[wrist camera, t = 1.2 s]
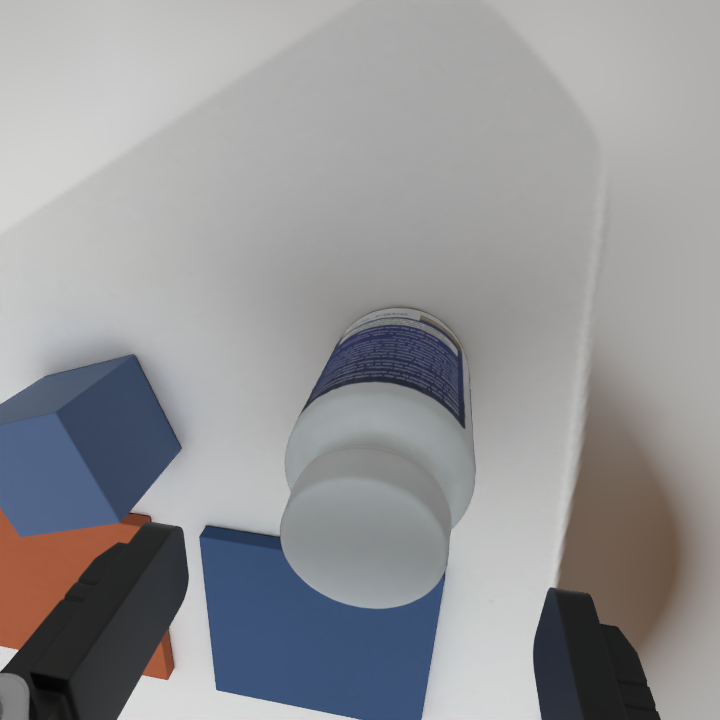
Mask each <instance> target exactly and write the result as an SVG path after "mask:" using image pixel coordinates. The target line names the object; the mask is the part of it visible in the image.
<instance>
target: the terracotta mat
mask: <svg viewBox="0 0 720 720" xmlns="http://www.w3.org/2000/svg"><path fill="white" fill-rule="evenodd" d="M146 522H150V517H148V516H142V515H136V514H129V513H128V514H127V516H126V517H125V518H124V519H123V520H122V522H121V523H117V524H110V525H103V526H96V527H90V528H83V529H76V530H69V531H62V532H55V533H48V534H41V535H34V536H27V537H20V536H19V535H18V533H17V532H16V530H15V529H14V527H13V526H12V524H11V523H10V522H9V520H8V519H7V517H6V516H5V514H4V513H3V511H2V510H1V508H0V646H3V647H8V648H13V649H18V650H20V649H21V647H22V646H23V645H24V644H25V642H26V641H27V640H28V639H29V638H30V636H31V635H32V634H33V633H34V632H35V630H36V629H37V628H38V627H39V625H40V624H41V623H42V622H43V621H44V619H45V618H46V617H47V616H48V615H49V613H50V612H51V611H52V610H53V609H54V607H55V606H56V605H57V604H58V602H59V601H60V600H63V599H64V597H65V594H66V593H67V592H68V590H69V589H70V588H71V587H72V586H73V584H74V583H75V582H76V583H77V582H78V578H79V577H80V576H81V575H82V573H83V572H84V571H85V570H86V569H87V567H88V566H89V565H90V564H91V562H92V561H93V560H94V559H95V558H96V557H97V556H99V555H100V554H102V553H103V552H105V551H106V550H107V549H109V548H110V547H112V546H113V545H115V544H116V543H117V542H121V543H127V544H128V543H129V542H130V540H131V539H132V538H133V536H134V535H135V534H136V533H137V531H138V530H139V529H140V527H141V526H142V525H143V524H144V523H146ZM173 669H174V664H173V658H172V652H171V646H170V640H169V633H168V630H167V631H166V633H165V635H164V637H163V638H162V640H161V642H160V644H159V646H158V647H157V649H156V651H155V653H154V654H153V656H152V658H151V660H150V662H149V663H148V665H147V667H146V669H145V670H144V672H143V674H142V675H145V676H150V677H155V678H160V679H165V680H168V679H169V677H170V675H171V673H172V671H173Z"/></svg>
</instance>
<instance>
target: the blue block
mask: <svg viewBox="0 0 720 720" xmlns="http://www.w3.org/2000/svg"><path fill="white" fill-rule="evenodd" d="M180 450H181V447H180V445H179V443H178V441H177V439H176V437H175V435H174V433H173V431H172V429H171V427H170V425H169V423H168V421H167V419H166V417H165V415H164V413H163V411H162V409H161V407H160V405H159V403H158V401H157V399H156V397H155V395H154V393H153V391H152V389H151V387H150V385H149V383H148V381H147V379H146V377H145V375H144V373H143V371H142V369H141V367H140V365H139V363H138V361H137V359H136V357H135V356H134V355H130V356H126V357H122V358H118V359H114V360H110V361H106V362H102V363H98V364H94V365H90V366H86V367H82V368H78V369H74V370H70V371H66V372H61V373H57V374H53V375H49V376H45V377H43V378H42V379H40V380H38V381H37V382H35V383H34V384H32V385H30V386H29V387H27V388H26V389H24V390H23V391H21V392H19V393H18V394H16V395H15V396H13V397H11V398H10V399H8V400H7V401H5V402H3V403H2V404H0V508H1V510H2V511H3V513H4V514H5V516H6V517H7V519H8V520H9V522H10V523H11V524H12V526H13V527H14V529H15V530H16V532H17V533H18V535H19V536H20V537H27V536H34V535H41V534H48V533H55V532H62V531H69V530H76V529H83V528H90V527H96V526H103V525H110V524H117V523H121V522H122V520H123V519H124V518H125V517H126V516H127V514H128V513H129V512H130V511H131V510H132V508H133V507H134V506H135V505H136V504H137V502H138V501H139V500H140V499H141V497H142V496H143V495H144V494H145V493H146V491H147V490H148V489H149V488H150V487H151V485H152V484H153V483H154V482H155V481H156V479H157V478H158V477H159V476H160V475H161V473H162V472H163V471H164V470H165V468H166V467H167V466H168V465H169V464H170V462H171V461H172V460H173V459H174V458H175V456H176V455H177V454H178V453H179V452H180Z"/></svg>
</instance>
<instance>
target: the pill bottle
mask: <svg viewBox="0 0 720 720" xmlns="http://www.w3.org/2000/svg"><path fill="white" fill-rule="evenodd" d="M470 392H471V391H470V373H469V369H468V364H467V360H466V356H465V353H464V350H463V348H462V346H461V344H460V342H459V341H458V339H457V338H456V336H455V335H454V333H453V332H452V331H451V330H450V329H449V328H448V327H447V326H446V325H445V324H443V323H442V322H441V321H439V320H438V319H437V318H435V317H433V316H431V315H429V314H427V313H424V312H421V311H417V310H414V309H408V308H390V309H383V310H379V311H375V312H372V313H370V314H367V315H365V316H364V317H362V318H360V319H359V320H357V321H356V322H355V323H353V324H352V325H351V326H350V327H349V328H348V329H347V330H346V331H345V332H344V334H343V335H342V336H341V338H340V340H339V342H338V343H337V345H336V346H335V348H334V350H333V352H332V354H331V356H330V358H329V360H328V362H327V364H326V366H325V368H324V370H323V371H322V374H321V376H320V377H319V379H318V381H317V383H316V385H315V387H314V388H313V390H312V393H311V395H310V397H309V399H308V401H307V403H306V404H305V406H304V408H303V410H302V412H301V414H300V415H299V417H298V419H297V421H296V423H295V425H294V428H293V430H292V432H291V435H290V437H289V440H288V443H287V447H286V453H285V472H286V478H287V482H288V486H289V488H290V491H291V494H290V497H289V500H288V503H287V505H286V508H285V511H284V514H283V516H282V519H281V525H280V540H281V545H282V549H283V552H284V555H285V557H286V559H287V561H288V563H289V564H290V566H291V567H292V569H293V570H294V571H295V572H296V574H297V575H298V576H299V577H300V578H301V579H302V580H303V581H304V582H306V583H307V584H308V585H309V586H310V587H312V588H313V589H315V590H316V591H318V592H320V593H321V594H323V595H325V596H327V597H329V598H331V599H333V600H335V601H338V602H341V603H344V604H347V605H352V606H356V607H361V608H372V609H385V608H393V607H398V606H402V605H406V604H409V603H411V602H413V601H415V600H418V599H420V598H421V597H423V596H425V595H426V594H427V593H429V592H430V591H431V590H432V589H433V588H434V587H435V586H436V585H437V584H438V582H439V581H440V579H441V578H442V576H443V574H444V572H445V569H446V566H447V562H448V556H449V541H450V534H451V529H452V528H454V527H455V525H456V524H457V523H458V522H459V521H460V519H461V518H462V517H463V515H464V513H465V512H466V510H467V508H468V506H469V504H470V501H471V498H472V495H473V491H474V484H475V474H476V465H475V456H474V441H473V424H472V411H471V394H470Z"/></svg>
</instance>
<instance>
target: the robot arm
mask: <svg viewBox="0 0 720 720" xmlns="http://www.w3.org/2000/svg"><path fill="white" fill-rule="evenodd" d="M188 580H189V574H188V566H187V557H186V549H185V541H184V533H183V530H182V528H181V527H179V526H173V525H167V524H160V523H154V522H146V523H144V524H143V525H142V526H141V527H140V529H139V530H138V531H137V533H136V534H135V535H134V536H133V538H132V539H131V540H130V542H129V543H128V544H127V543H121V542H117V543H116V544H115V545H113V546H112V547H110V548H109V549H107V550H106V551H105V552H103V553H102V554H100V555H99V556H97V557H96V558H95V559H94V560H93V561H92V562H91V564H90V565H89V566H88V567H87V569H86V570H85V571H84V572H83V573H82V575H81V576H80V577H79V578H78V582H77V583H76V582H75V583H74V584H73V586H72V587H71V588H70V589H69V590H68V592H67V593H66V594H65V597H64V599H63V600H60V601H59V602H58V604H57V605H56V606H55V607H54V609H53V610H52V611H51V612H50V613H49V615H48V616H47V617H46V618H45V619H44V621H43V622H42V623H41V624H40V625H39V627H38V628H37V629H36V630H35V632H34V633H33V634H32V635H31V636H30V638H29V639H28V640H27V641H26V642H25V644H24V645H23V646H22V647H21V649H20V650H19V651H18V652H17V653H16V655H15V656H14V657H13V658H12V659H11V661H10V662H9V663H8V664H7V665H6V666H5V667H4V669H3V670H2V671H1V672H0V720H117V718H118V716H119V715H120V713H121V711H122V709H123V708H124V706H125V704H126V702H127V701H128V699H129V697H130V695H131V693H132V692H133V690H134V688H135V686H136V685H137V683H138V681H139V679H140V677H141V676H142V674H143V672H144V670H145V669H146V667H147V665H148V663H149V662H150V660H151V658H152V656H153V654H154V653H155V651H156V649H157V647H158V646H159V644H160V642H161V640H162V638H163V637H164V635H165V633H166V631H167V630H168V628H169V626H170V624H171V622H172V621H173V619H174V617H175V615H176V614H177V612H178V610H179V608H180V607H181V605H182V603H183V600H184V598H185V595H186V591H187V587H188ZM533 663H534V673H535V679H536V686H537V692H538V699H539V705H540V712H541V718H542V720H661V719H660V717H659V713H658V712H657V711H656V709H655V702H654V699H653V696H652V694H651V691H650V688H649V687H648V686H647V679H646V677H645V674H644V671H643V668H642V665H641V663H640V660H639V657H638V654H637V652H636V651H635V649H634V648H633V647H632V646H631V644H630V643H629V642H628V640H627V639H626V637H625V636H624V635H623V633H622V632H621V631H620V630H619V628H618V627H616V626H610V625H604V624H600V623H599V619H598V616H597V613H596V609H595V606H594V603H593V600H592V598H591V596H590V595H589V594H588V593H583V592H576V591H570V590H564V589H558V588H549V590H548V592H547V595H546V599H545V602H544V606H543V610H542V613H541V617H540V620H539V624H538V627H537V631H536V635H535V639H534V648H533Z"/></svg>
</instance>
